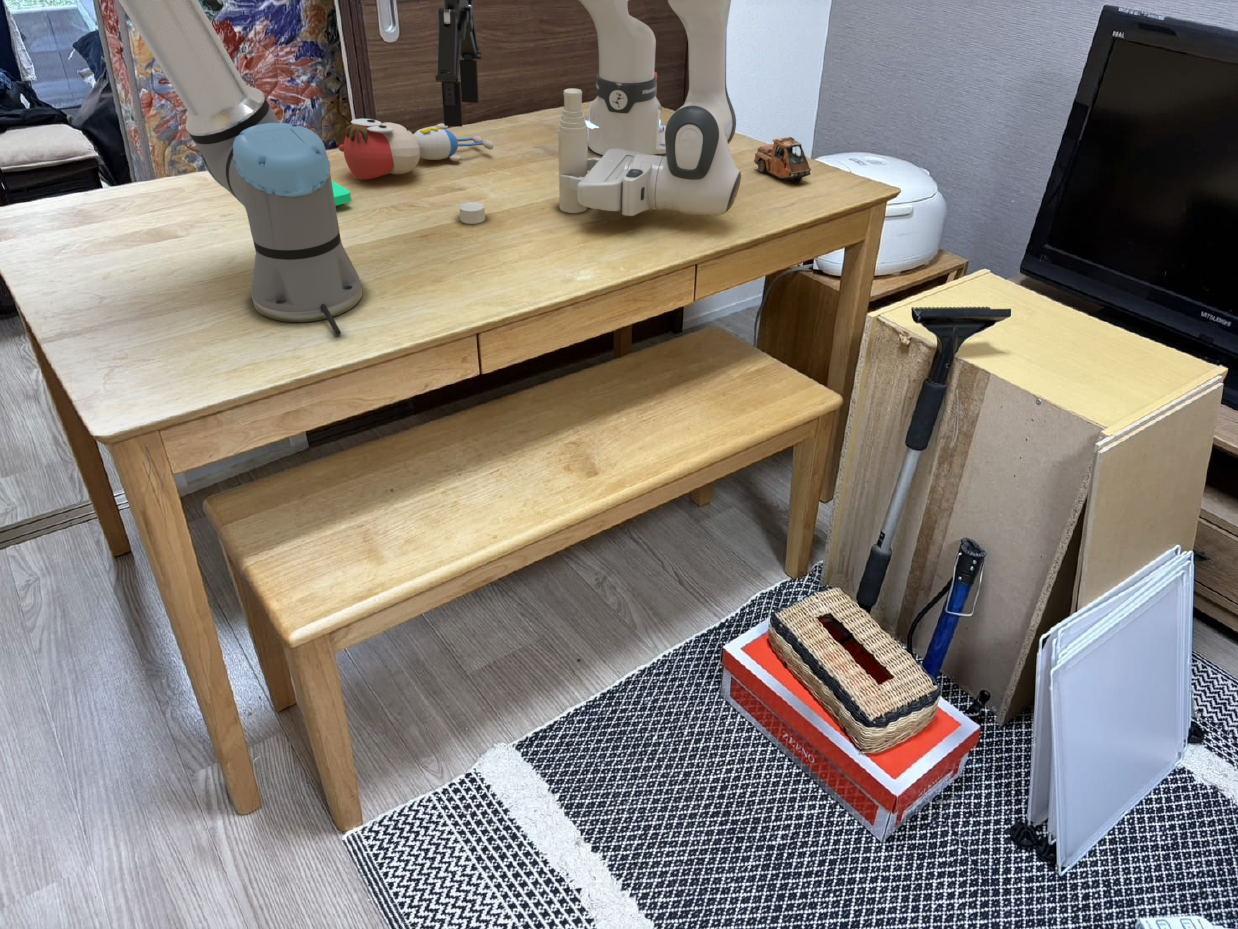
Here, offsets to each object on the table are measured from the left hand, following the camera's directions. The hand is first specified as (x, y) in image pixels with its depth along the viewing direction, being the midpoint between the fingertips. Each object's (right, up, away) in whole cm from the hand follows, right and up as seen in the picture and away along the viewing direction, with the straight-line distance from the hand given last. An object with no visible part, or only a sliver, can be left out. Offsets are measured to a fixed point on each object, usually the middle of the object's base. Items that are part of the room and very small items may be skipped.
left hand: (462, 113), depth 149 cm
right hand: (+16, -5, +13) cm, 21 cm away
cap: (0, -13, +10) cm, 16 cm away
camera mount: (-28, -10, +15) cm, 33 cm away
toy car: (+57, 0, +32) cm, 66 cm away
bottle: (+17, -11, +16) cm, 26 cm away
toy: (-14, +2, +31) cm, 34 cm away
